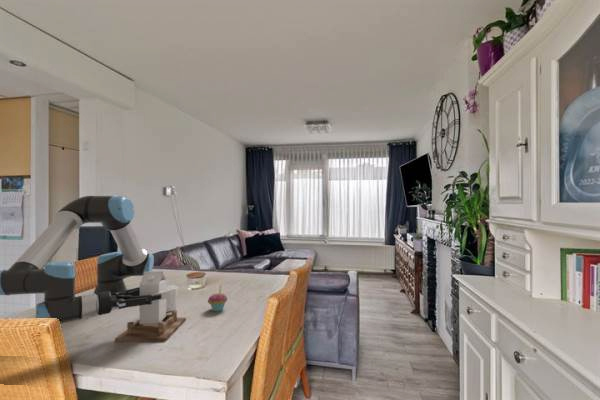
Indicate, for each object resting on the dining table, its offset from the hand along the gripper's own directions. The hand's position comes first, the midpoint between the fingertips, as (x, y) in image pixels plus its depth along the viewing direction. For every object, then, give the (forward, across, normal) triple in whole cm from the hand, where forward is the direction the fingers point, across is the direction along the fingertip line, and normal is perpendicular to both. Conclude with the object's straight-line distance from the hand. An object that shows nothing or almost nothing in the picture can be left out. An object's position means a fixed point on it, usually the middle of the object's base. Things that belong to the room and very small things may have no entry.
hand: (165, 291), depth 112 cm
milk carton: (-4, 0, -11) cm, 12 cm away
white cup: (+7, -19, -14) cm, 25 cm away
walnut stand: (-4, 0, -14) cm, 15 cm away
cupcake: (+24, -4, -14) cm, 28 cm away
